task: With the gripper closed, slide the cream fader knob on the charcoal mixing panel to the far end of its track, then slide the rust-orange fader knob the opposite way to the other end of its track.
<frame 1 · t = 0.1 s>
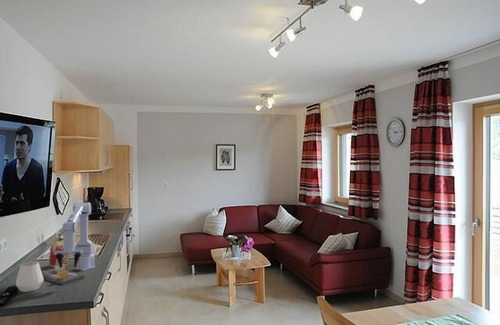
hand: (68, 267, 206), 11 cm above the worktop, tool pointing down, fingers open, 7 cm apart
cup: (29, 289, 202), on the worktop
mixing panel: (61, 277, 220), on the worktop
milk carton: (58, 265, 245), on the worktop
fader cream: (59, 267, 226), point 4 cm above the worktop, slide at -7.0 cm
fader orange: (62, 274, 213), point 4 cm above the worktop, slide at 7.0 cm
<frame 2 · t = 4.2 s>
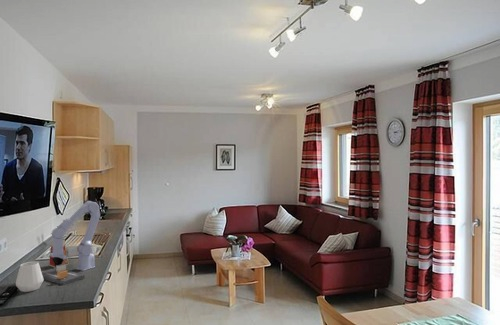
hand: (58, 269, 227), 3 cm above the worktop, tool pointing down, fingers closed
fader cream: (61, 267, 225), point 4 cm above the worktop, slide at -5.5 cm, touching gripper
everything else where it was.
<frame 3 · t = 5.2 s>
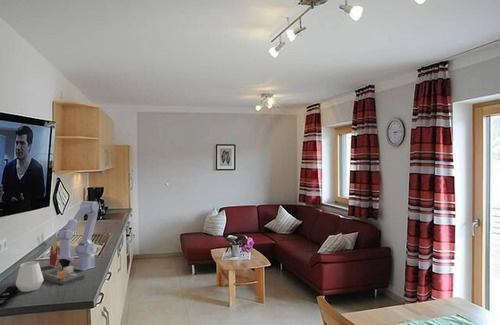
hand: (65, 270, 223), 3 cm above the worktop, tool pointing down, fingers closed
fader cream: (68, 269, 222), point 4 cm above the worktop, slide at 1.8 cm, touching gripper
everything else where it was.
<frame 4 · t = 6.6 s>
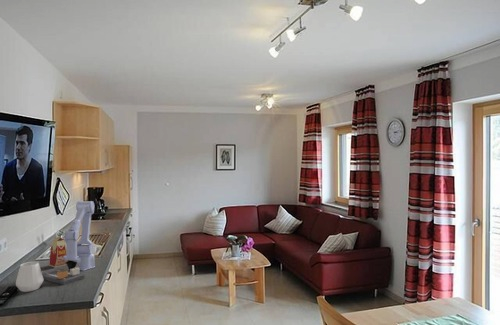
hand: (71, 272, 220), 3 cm above the worktop, tool pointing down, fingers closed
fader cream: (74, 271, 218), point 4 cm above the worktop, slide at 8.1 cm, touching gripper
everything else where it was.
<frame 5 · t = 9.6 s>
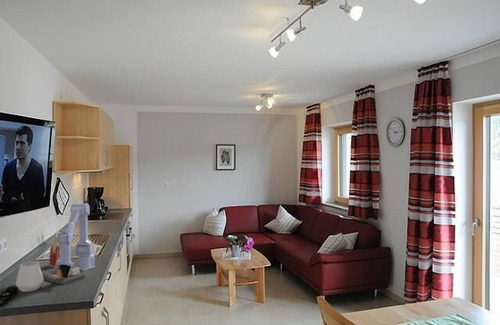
hand: (65, 277, 212), 3 cm above the worktop, tool pointing down, fingers closed
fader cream: (74, 271, 218), point 4 cm above the worktop, slide at 8.1 cm
fader orange: (62, 274, 213), point 4 cm above the worktop, slide at 6.7 cm, touching gripper
everything else where it was.
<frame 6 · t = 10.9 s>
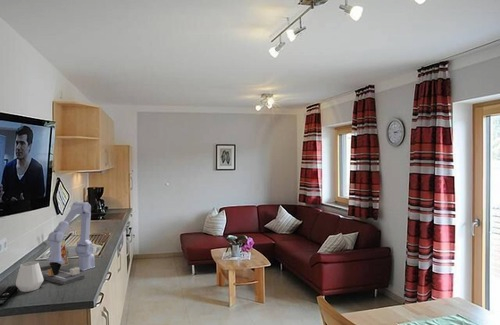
hand: (56, 274, 216), 3 cm above the worktop, tool pointing down, fingers closed
fader orange: (53, 271, 218), point 4 cm above the worktop, slide at -2.6 cm, touching gripper
everything else where it was.
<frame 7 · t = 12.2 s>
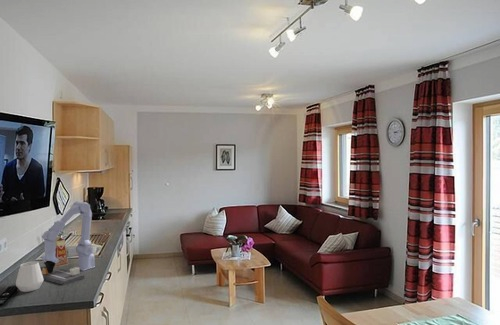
hand: (50, 273, 219), 3 cm above the worktop, tool pointing down, fingers closed
fader orange: (47, 270, 221), point 4 cm above the worktop, slide at -8.2 cm, touching gripper
everything else where it was.
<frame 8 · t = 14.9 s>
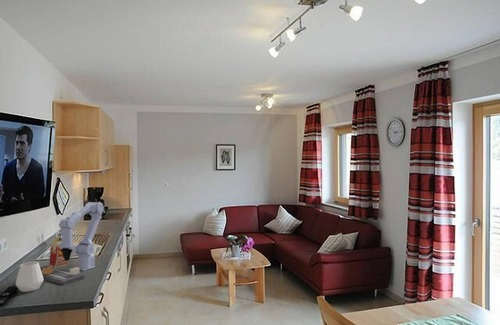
hand: (67, 260, 224), 9 cm above the worktop, tool pointing down, fingers closed
fader orange: (47, 270, 220), point 4 cm above the worktop, slide at -8.1 cm
everything else where it was.
at the end: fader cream slide at 8.1 cm; fader orange slide at -8.1 cm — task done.
